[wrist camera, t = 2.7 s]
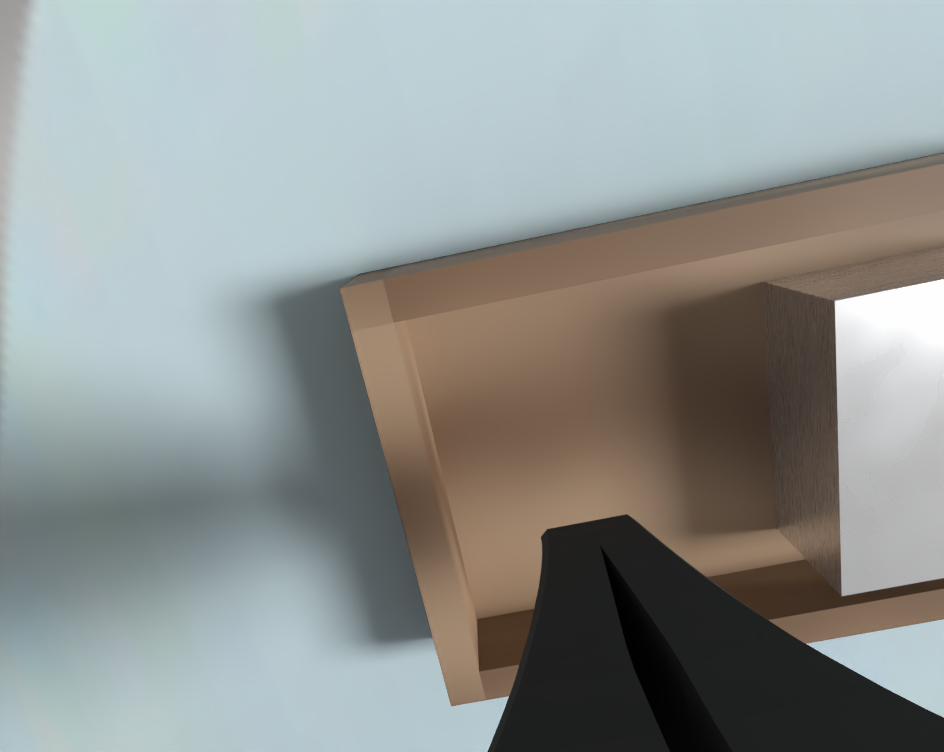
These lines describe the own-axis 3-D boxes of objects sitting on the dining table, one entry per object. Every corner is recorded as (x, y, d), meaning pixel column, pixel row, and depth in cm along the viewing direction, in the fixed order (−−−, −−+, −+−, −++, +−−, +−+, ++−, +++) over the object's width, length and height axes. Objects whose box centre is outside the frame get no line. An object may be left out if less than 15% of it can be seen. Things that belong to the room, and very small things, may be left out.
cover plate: (989, 489, 14) (1099, 550, 11) (776, 528, 14) (841, 596, 12) (1003, 232, 12) (1137, 240, 10) (762, 281, 12) (835, 300, 10)
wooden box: (1000, 537, 15) (1090, 593, 13) (452, 636, 15) (451, 706, 13) (1027, 135, 12) (1146, 121, 10) (359, 274, 13) (339, 288, 10)
